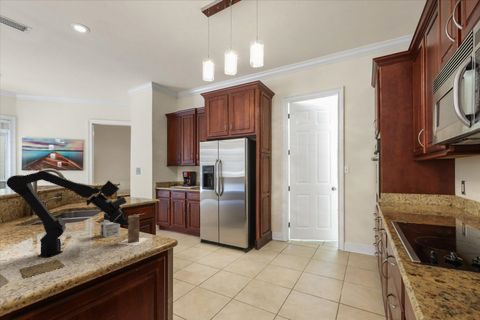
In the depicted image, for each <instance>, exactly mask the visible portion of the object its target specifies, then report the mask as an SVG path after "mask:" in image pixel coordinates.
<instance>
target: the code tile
mask: <svg viewBox="0 0 480 320" xmlns="http://www.w3.org/2000/svg"><path fill="white" fill-rule="evenodd" d="M146 240H149V237H139V242H133V243H128V238H126V239H124V240H122V241H119V242H118V243H117V245H128V246H137V245H140V244H142V243H144V242H145V241H146Z"/></svg>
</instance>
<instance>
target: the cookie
mask: <svg viewBox="0 0 480 320" xmlns="http://www.w3.org/2000/svg"><path fill="white" fill-rule="evenodd" d="M63 267H65V268H66V266H65V265H64V263H62V262H61V261H60V260H59V259H58V258H57V259H54V260H50V261H46V262H42V263H37V264H33V265H31V266H27V267H23V268H19V272H20V274H21V275H22V278H23V279H25V278H26V279H28V278H33V277H37V276H39V274H40V275H42V273H44V274H46V272H47V273H51V272H53V270H54V271H57V270H56V269H58V270H61V269H64V268H63ZM60 268H61V269H60ZM36 275H37V276H36ZM32 276H33V277H32ZM26 279H25V280H26Z"/></svg>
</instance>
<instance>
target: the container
mask: <svg viewBox="0 0 480 320" xmlns="http://www.w3.org/2000/svg"><path fill="white" fill-rule="evenodd" d="M99 223H100V225H99V226H100V228H99V229H100V230H99V232H100V233H99V235H100V236H101V237H104V238H110V237H114V236H118V235H120V233H121V224H117V223H113V222H112V223H111V222H110V221H109V217H108V216H107V214H105V213H104V214H103V221H100V222H99Z"/></svg>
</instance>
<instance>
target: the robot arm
mask: <svg viewBox="0 0 480 320" xmlns="http://www.w3.org/2000/svg"><path fill="white" fill-rule="evenodd" d="M38 181H44V182H47V183H50V184H53V185H56V186H59V187H61V188H64V189H67V190H69V191H72V192H73V193H75V194H76V195H77V196H79V197H81V198H84V199H85V201H86V206H87V207H88V206H89V205H90V204H92V205H93V206H95V207H96V208H97V209H99V210H100V212H101V213H102V212H103V213H104V214H107V216H108V217H109V221H110V222H111V223H112V222H113V223H117V224H120V225H123V226H127V227H128V225H129V223H128V218H127V217H126V216H125V215H124V213H123V209H122V205H125V204H127V203H128V201H127V199H126V197H125V196H121V195H119V196H116V199H115V200H114V201H112V200H109V199H108V197H111V198H112V197H113V196H114V195H115V193H117V192H118V191H119V190H120V188H119V187H118V185H116V184H115V183H113V182H112V181H110V180H107V181H106V182H105V184H103V185H102V186H101V187H94V186H92V185H91V184H85V183H81V182H76V181H73V180H70V179H67V178H64V177H62V176H59V175H57V174H54V173H51V172H49V171H47V170H39V171H37V172H33V173H29V174H25V175H24V174H17V175H16V174H15V175H11V176H9V177H8V179H7V180H6V183H5V184H6V186H7V187H8V188H9V189H10V190H12V192H15V193H16V194H17V195H19V196H20V197H22V199H23V200H24V201H25V202H26V203H27V205H28V206H29V207H30V209H31V210H32V211H33V213H34V214H35V215H36V216H37V217H38V218H39V220H40V221H41V222H42V225H43V228H44V229H43V230H44V231H45V234H44V235H43V236H42V237H41V238H40V240H39V242H40V254H38V255H37V257H43V258H51V257H53V256H56V255H59V254H61V253H63V252H64V250H62V249H61V248H62V241H61V238H60V237H62V235H63V234H64V233H65V230H66V222H64V220H63V218H62V216H59V217H58V218H56V217H55V216H54V215H53V214H52V212H50V210H49V209H48V207H47V206H46V205H45V204H44V203H43V201H42V200H41V199H40V196H38V195H37V193H36V192H35V191H34V187H33V183H35V182H38ZM96 194H97V195H96ZM88 198H89V199H88Z"/></svg>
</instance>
